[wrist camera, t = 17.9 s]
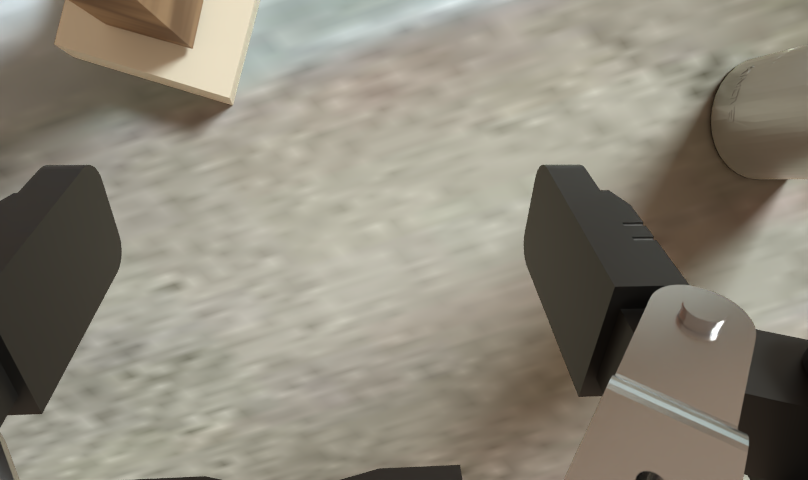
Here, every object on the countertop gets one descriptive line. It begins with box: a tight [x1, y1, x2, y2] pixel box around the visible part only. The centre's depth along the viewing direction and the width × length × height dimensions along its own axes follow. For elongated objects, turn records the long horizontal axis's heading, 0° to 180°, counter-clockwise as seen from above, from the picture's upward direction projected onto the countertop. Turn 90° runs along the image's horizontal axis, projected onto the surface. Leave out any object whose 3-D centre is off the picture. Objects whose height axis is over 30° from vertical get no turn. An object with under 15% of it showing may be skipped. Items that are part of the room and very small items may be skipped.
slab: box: [54, 0, 260, 105], centre depth 32 cm, size 9×9×4 cm
